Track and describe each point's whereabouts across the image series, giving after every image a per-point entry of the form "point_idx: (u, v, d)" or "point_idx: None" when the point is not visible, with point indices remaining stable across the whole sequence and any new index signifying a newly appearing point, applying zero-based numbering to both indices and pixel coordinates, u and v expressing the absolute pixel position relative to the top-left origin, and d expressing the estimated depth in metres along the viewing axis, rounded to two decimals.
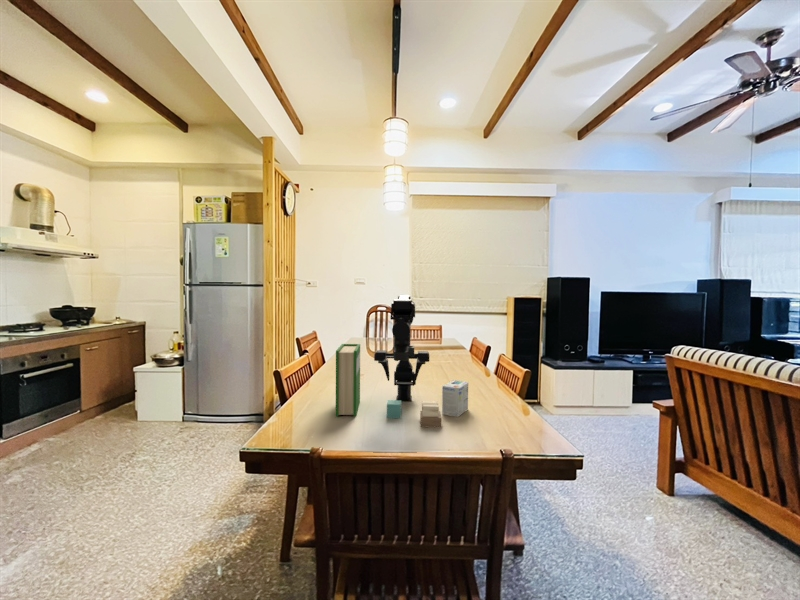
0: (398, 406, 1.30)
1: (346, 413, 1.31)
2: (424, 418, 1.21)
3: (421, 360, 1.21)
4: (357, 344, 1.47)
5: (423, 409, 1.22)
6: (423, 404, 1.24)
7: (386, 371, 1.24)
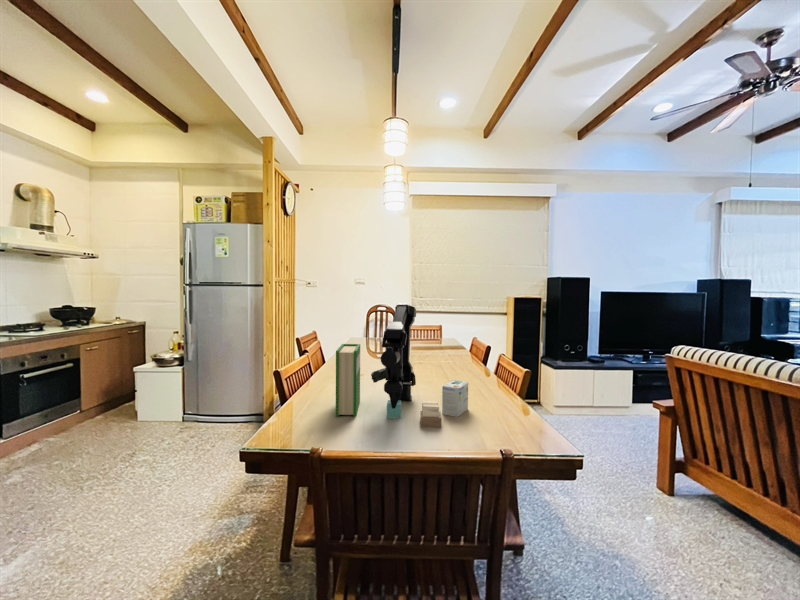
0: (398, 406, 1.30)
1: (346, 413, 1.31)
2: (424, 418, 1.21)
3: None
4: (357, 344, 1.47)
5: (424, 409, 1.22)
6: (423, 404, 1.24)
7: None
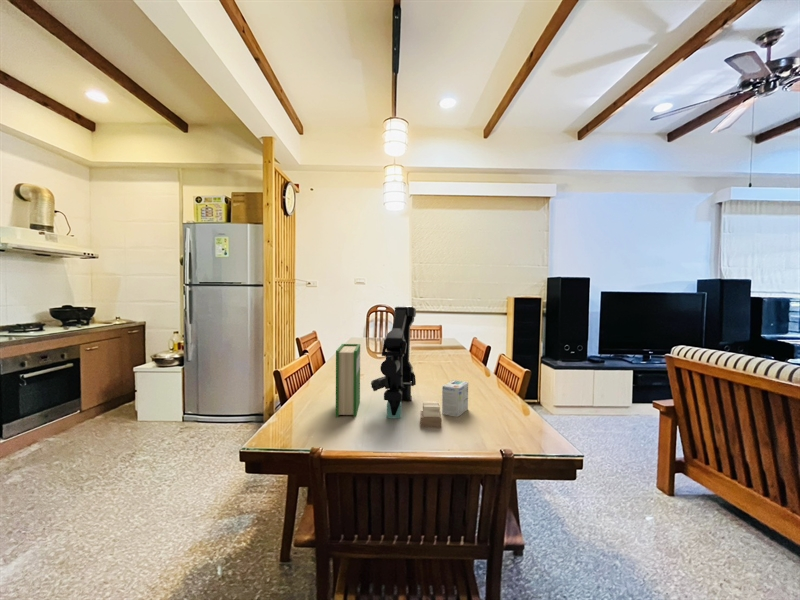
0: None
1: (346, 413, 1.31)
2: (424, 418, 1.21)
3: None
4: (357, 344, 1.47)
5: (424, 409, 1.22)
6: (424, 404, 1.24)
7: None
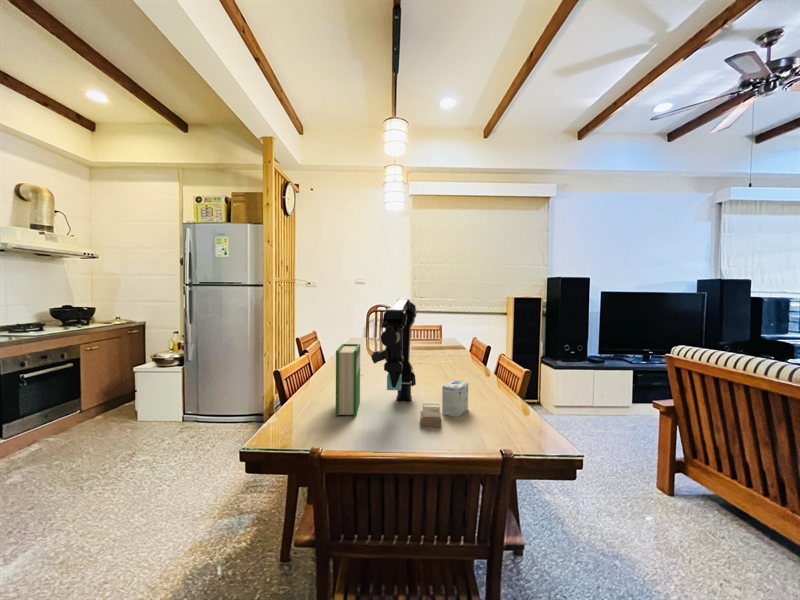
0: None
1: (346, 413, 1.31)
2: (424, 418, 1.21)
3: None
4: (357, 344, 1.47)
5: (424, 409, 1.22)
6: (424, 404, 1.24)
7: None
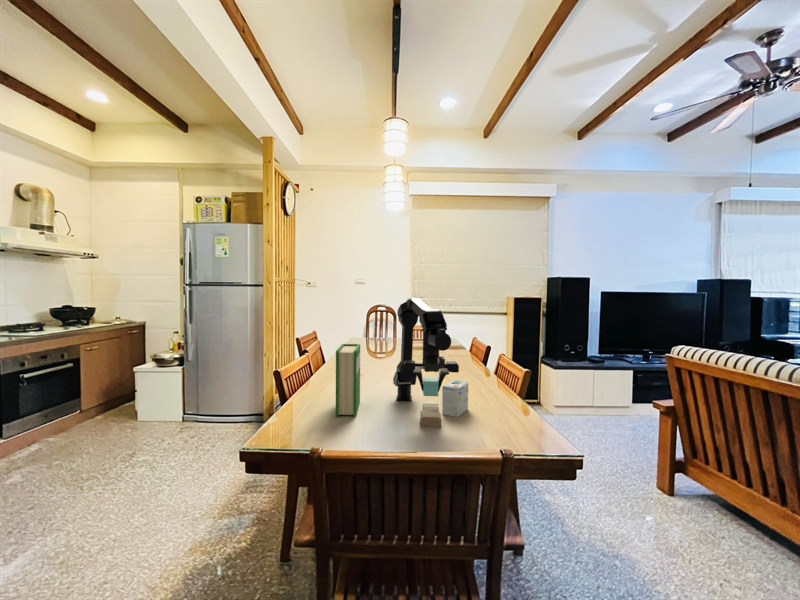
0: (437, 380, 1.26)
1: (346, 413, 1.31)
2: (424, 418, 1.21)
3: (451, 371, 1.21)
4: (357, 344, 1.47)
5: (423, 409, 1.22)
6: (423, 404, 1.24)
7: (421, 382, 1.23)
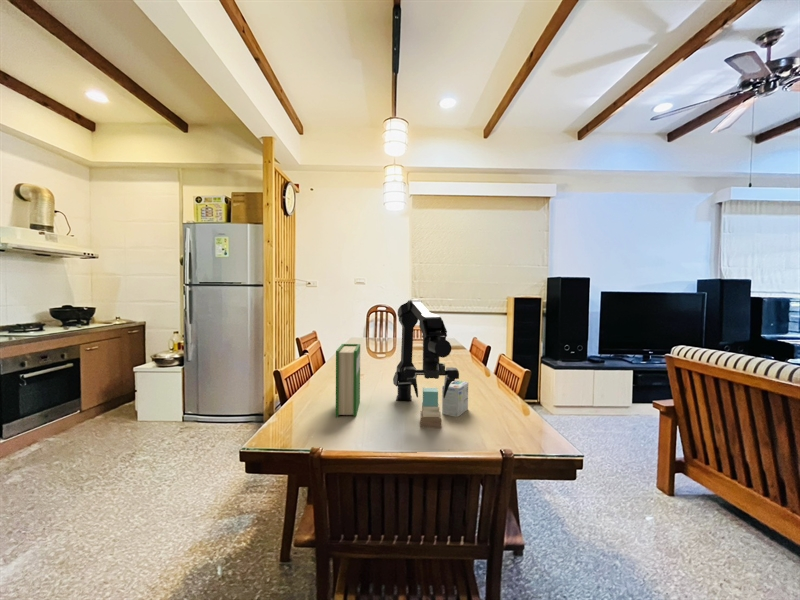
0: (437, 390, 1.26)
1: (346, 413, 1.31)
2: (424, 418, 1.21)
3: (451, 377, 1.21)
4: (357, 344, 1.47)
5: (424, 409, 1.22)
6: None
7: (415, 388, 1.23)
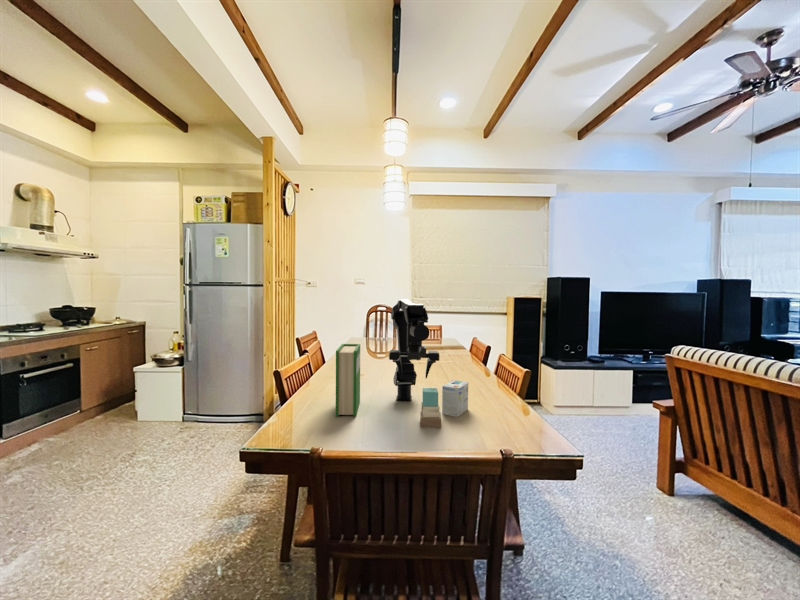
0: None
1: (346, 413, 1.31)
2: (424, 419, 1.21)
3: (432, 359, 1.33)
4: (357, 344, 1.47)
5: (424, 410, 1.22)
6: None
7: (400, 369, 1.35)
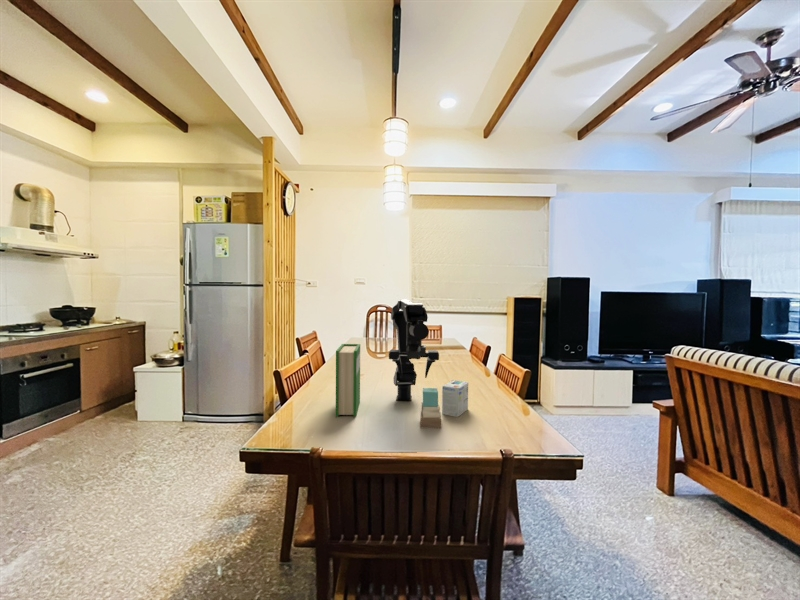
0: None
1: (346, 413, 1.31)
2: (424, 419, 1.21)
3: (431, 358, 1.33)
4: (357, 344, 1.47)
5: (424, 410, 1.21)
6: None
7: (399, 368, 1.36)
